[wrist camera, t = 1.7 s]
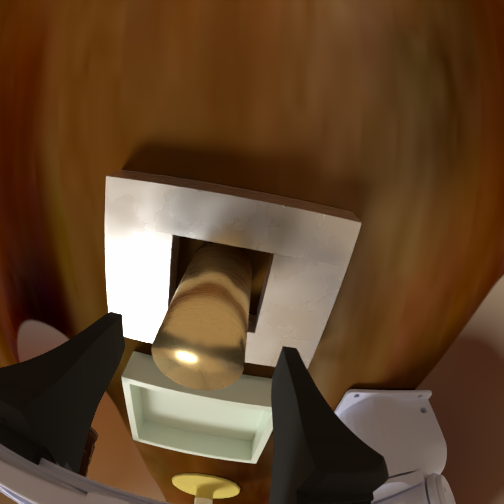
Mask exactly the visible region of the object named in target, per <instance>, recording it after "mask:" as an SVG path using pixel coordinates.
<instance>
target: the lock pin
mask: <svg viewBox="0 0 504 504" xmlns="http://www.w3.org/2000/svg"><path fill="white" fill-rule="evenodd" d="M251 283H252V266H251V263H250V260H249V258H248V257H247V255H246V254H245V253H244V252H243V251H242V250H241V249H239V248H238V247H236V246H231V245H226V244H221V243H215V242H214V243H209V244H206V245H204V246H202V247H201V248H199V249H198V250H197V251H196V252H195V254H194V255H193V257H192V259H191V261H190V263H189V265H188V267H187V269H186V271H185V273H184V275H183V277H182V280H181V282H180V284H179V286H178V288H177V290H176V292H175V294H174V296H173V299H172V301H171V303H170V305H169V307H168V309H167V312H166V314H165V316H164V318H163V320H162V323H161V325H160V327H159V329H158V331H157V334H156V336H155V338H154V340H153V343H152V356H153V359H154V362H155V364H156V365H157V367H158V368H159V369H160V371H161V372H162V373H163V374H164V375H166V376H167V377H168V378H169V379H171V380H172V381H174V382H176V383H178V384H180V385H182V386H185V387H188V388H192V389H196V390H217V389H222V388H225V387H227V386H229V385H231V384H233V383H234V382H235V381H237V380H238V379H239V377H240V376H241V374H242V373H243V370H244V364H245V353H246V341H247V330H248V318H249V306H250V295H251Z"/></svg>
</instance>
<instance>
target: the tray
mask: <svg viewBox="0 0 504 504" xmlns="http://www.w3.org/2000/svg"><path fill="white" fill-rule="evenodd" d="M121 377H122V384H123V390H124V396H125V401H126V407H127V412H128V417H129V422H130V427H131V431H132V436H133V440H136V441H140V442H143V443H147V444H151V445H154V446H158V447H162V448H166V449H171V450H175V451H180V452H184V453H189V454H194V455H199V456H205V457H211V458H217V459H223V460H230V461H237V462H246V463H255V464H256V462H257V460H258V458H259V456H260V454H261V452H262V450H263V448H264V446H265V444H266V442H267V440H268V438H269V436H270V434H271V432H272V430H273V422H272V407H271V386H272V378H264V377H257V376H251V375H244V374H241V376H240V377H239V379H238V380H237V381H235V382H234V383H233V384H231V385H229V386H227V387H225V388H222V389H217V390H196V389H192V388H188V387H185V386H182V385H180V384H178V383H176V382H174V381H172V380H171V379H169V378H168V377H167V376H166V375H164V374H163V373H162V372H161V371H160V369H159V368H158V367H157V365H156V364H155V362H154V359H153V356H151V355H147V354H143V353H139V352H136V351H133V353H132V355H131V357H130V360H129V362H128V364H127V366H126V368H125V370H124V372H123V374H122V376H121Z"/></svg>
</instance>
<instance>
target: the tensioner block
mask: <svg viewBox="0 0 504 504" xmlns="http://www.w3.org/2000/svg"><path fill="white" fill-rule="evenodd" d="M361 224H362V222H361V221H360V220H359V219H358V218H357V216H356V215H355V214H354V213H353V212H352V211H348V210H343V209H339V208H335V207H331V206H326V205H322V204H317V203H313V202H308V201H304V200H299V199H294V198H289V197H285V196H280V195H275V194H270V193H265V192H260V191H254V190H249V189H244V188H238V187H233V186H227V185H222V184H216V183H210V182H204V181H198V180H192V179H186V178H179V177H173V176H166V175H159V174H152V173H145V172H138V171H130V170H122V169H121V170H119V171H117V172H114V173H112V174H110V175H108V176H106V193H105V261H106V282H107V297H108V309H109V312H110V311H112V312H115V313H119V314H122V315H123V329H124V336H125V337H129V338H133V339H137V340H141V341H145V342H149V343H153V340H154V338H155V336H156V334H157V331H158V329H159V327H160V325H161V323H162V320H163V318H164V316H165V314H166V312H167V309H168V307H169V305H170V303H171V301H172V299H173V296H174V294H175V291H176V278H177V265H178V254H179V243H180V236H183V237H189V238H194V239H199V240H205V241H210V242H215V243H221V244H226V245H231V246H237V247H242V248H247V249H253V250H258V251H263V252H269V253H270V257H269V262H268V266H267V270H266V274H265V279H264V283H263V287H262V291H261V295H260V299H259V304H258V308H257V312H256V315H255V314H249V318H248V330H247V341H246V353H245V362H247V363H253V364H259V365H266V366H273V367H276V364H277V361H278V358H279V356H280V353H281V350H282V347H283V346H286V347H293V348H297V350H298V352H299V354H300V356H301V358H302V360H303V362H304V364H305V366H306V368H307V369H308V366H309V364H310V362H311V360H312V357H313V355H314V352H315V350H316V348H317V345H318V343H319V341H320V338H321V336H322V333H323V331H324V328H325V326H326V323H327V321H328V318H329V316H330V313H331V310H332V308H333V305H334V303H335V300H336V297H337V294H338V292H339V289H340V286H341V284H342V281H343V278H344V275H345V272H346V269H347V267H348V264H349V261H350V258H351V255H352V252H353V249H354V246H355V243H356V240H357V237H358V234H359V230H360V227H361Z"/></svg>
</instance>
